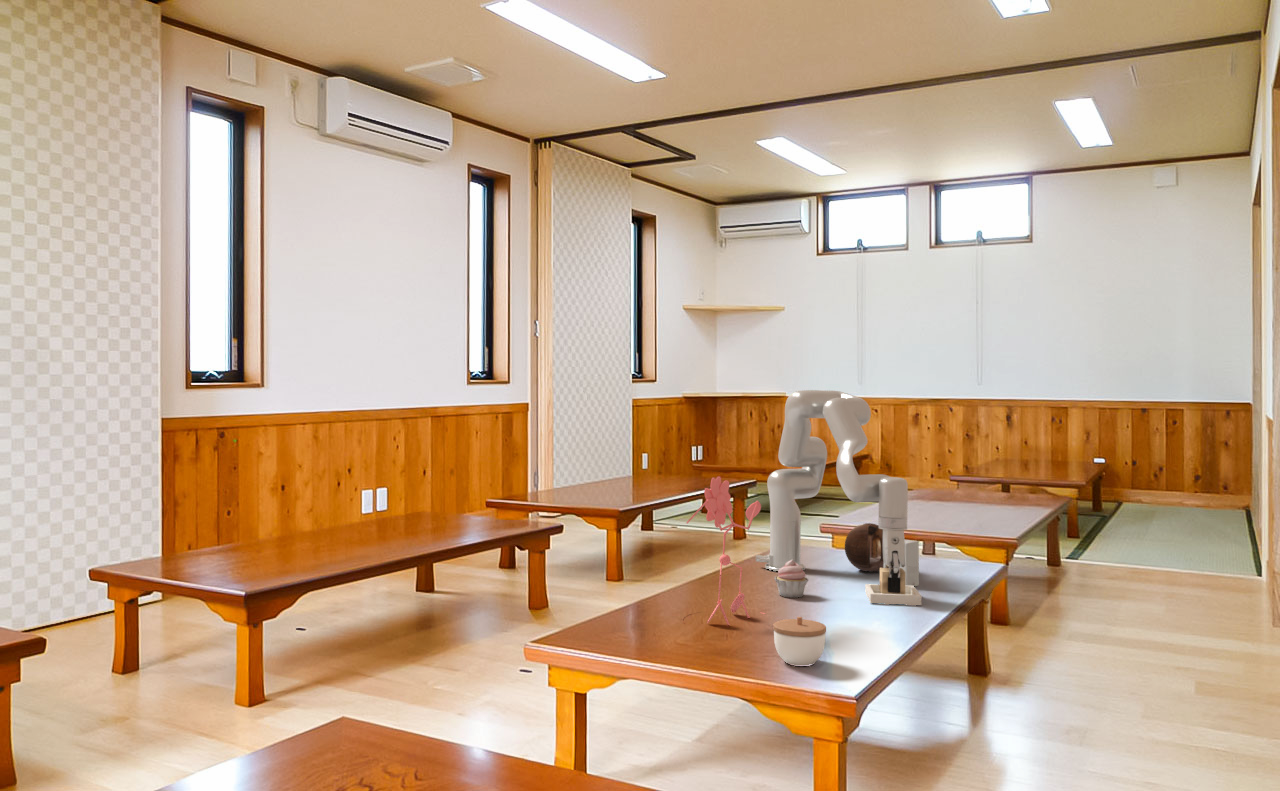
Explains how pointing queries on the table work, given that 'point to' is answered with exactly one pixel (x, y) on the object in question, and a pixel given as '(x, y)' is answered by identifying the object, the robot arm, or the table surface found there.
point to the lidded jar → (799, 640)
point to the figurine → (717, 510)
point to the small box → (911, 563)
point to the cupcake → (791, 580)
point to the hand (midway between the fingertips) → (892, 589)
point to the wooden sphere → (865, 547)
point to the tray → (893, 595)
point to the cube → (884, 581)
